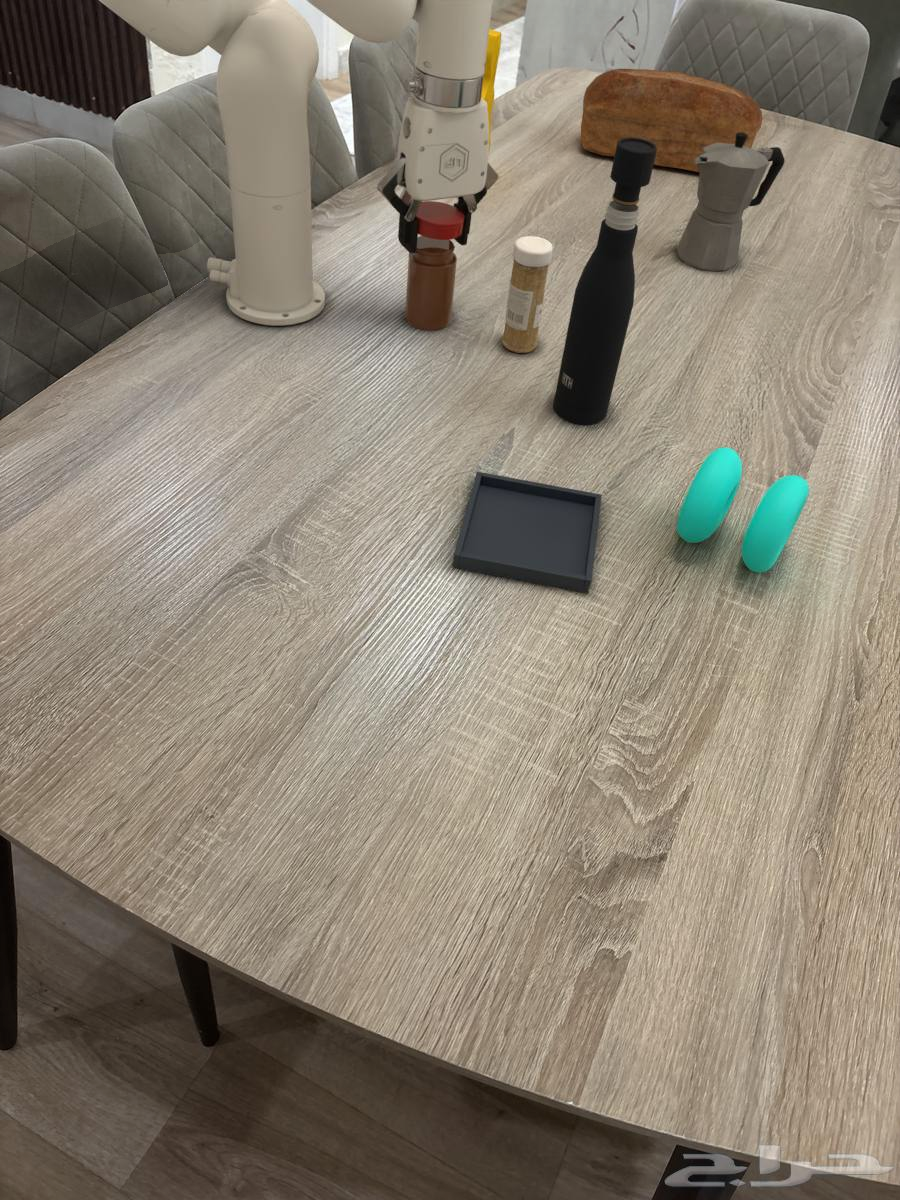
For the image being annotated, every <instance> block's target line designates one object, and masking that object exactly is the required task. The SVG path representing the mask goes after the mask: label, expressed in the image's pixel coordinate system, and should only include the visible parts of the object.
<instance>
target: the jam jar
mask: <svg viewBox="0 0 900 1200" xmlns="http://www.w3.org/2000/svg"><path fill="white" fill-rule="evenodd" d="M455 248H456V245H455V244H454V242H453V240H452V239H450V240H437V239H431V238H427V237H424V236H422V235H419V236H418V238H417V250H416V252H415V253H409V252H408V258H407V260H408V261H407V276H406V296H405V313H404V315H405V316H404V319H405V321H406V322H407V323H408V324H409V325H410V326H411V327H414V328H416V329H419V330H424V331H439V330H443V329H445V328H446V327H448V326H449V325H450V324H451V322H452V315H453V303H454V293H455V284H456V283H455V281H456V271H457V262H458V260H457V259H458V257H457V255H456V253H455V252H454V251H455Z"/></svg>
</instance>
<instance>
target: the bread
mask: <svg viewBox="0 0 900 1200" xmlns="http://www.w3.org/2000/svg"><path fill="white" fill-rule="evenodd" d="M762 124H763V113H762V109H761V108H760V106H759V104H758V101H756V100H755V99H753V98H752V97H751V96H750V95H749V94H747V93H745V92H742V91H741V90H739V89H738V88H735V87H733V86H731V85H728V84H725V83H721V82H719V81H715V80H712V79H709V78H705V77H701V76H697V75H693V74H690V73H685V72H681V71H674V70H662V69H646V68H641V69H640V68H615V69H610V70H608V71H605V72H603V73H601V74H599V75H597V76H596V77H595V78H594V79H592V81H591V82H590V83H589V84H588V86H587V87H586V89H585V91H584V94H583V102H582V116H581V122H580V144H581V146H582V148H583V150H585V151H588V152H590V153H593V154H596V155H600V156H603V157H612V158H614V156H615V151H616V146H617V142H618V141H619V140H620V139H623V138H639V139H644V140H647V141H649V142H652V143H653V144H654V145H655V146H656V147H657V152H656V156H655V161H654V165H653V166H659V167H660V166H661V167H666V168H675V169H681V170H686V171H691V172H696V173H700V172H699V169H698V166H697V165H696V164H695V159H696V158H697V157H698V156H700V155H702V152H703V148H704V147H707V146H709V145H712V144H715V143H728V144H735V140H736V133H738V132H743V133H746V134H747V135H748V137H747V139H746V141H745V143H744V146H746V147H749V148H751V149H753V145H754V142H755V139H756V137H757V134H758V133H759V132H760V130H761V128H762Z"/></svg>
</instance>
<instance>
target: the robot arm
mask: <svg viewBox="0 0 900 1200" xmlns="http://www.w3.org/2000/svg"><path fill="white" fill-rule="evenodd" d="M98 1H99V2H100V3H101V4H103V5H104V6H106V8H108V9H109V10H111V11H112V12H113V13H114V14H116V15H117V16H118V17H120V18H121V19H122V20H123V21H125V22H126V23H127V24H128V25H129V26H131V27H133V28H134V29H135V30H136V31H138V32H139V34H141V35H142V36H144V37H145V38H146V39H148V40H149V41H150V42H152V43H153V44H154V45H155V46H157V47H158V48H159V49H161V50H163V51H165V52H166V53H168V54H171V55H173V56H177V57H190V56H194V55H197V54H199V53H200V52H202V51H203V50H204V49H205V48H207V47H209V48H211V49H212V50H213V51H215V52H216V53H218V55H220V59H219V62H218V66H217V72H216V97H217V98H216V99H217V103H218V104H217V105H218V109H219V114H220V115H219V116H220V120H221V125H222V131H223V137H224V143H225V152H226V162H227V165H226V166H227V173H228V182H229V184H228V185H229V196H230V207H231V220H232V231H233V243H234V257H235V259H234V258H233V259H232V260H231V261H229V260H224V258H223V259H222V258H218V257H217V258H216V257H211V256H209V258H208V259H207V262H206V271H207V272H208V274H209V281H210V282H214V283H223V284H226V285H227V286H228V287H227V290H226V292H225V293H226V294H225V295H226V296H225V297H226V304H227V306H228V308H229V310H230V311H231V312H232V313H233V314H234V315H236V316H237V317H239V318H240V319H243V320H245V321H248V322H251V323H253V324H258V325H263V326H272V327H273V326H274V327H278V326H280V327H281V326H283V327H284V326H291V325H292V326H293V325H297V324H303V323H305V322H308V321H309V320H311V319H314V318H315V317H317V316H318V315H319V314H320V313H321V312H322V311H323V310H324V308H325V305H326V292H325V290H324V288H323V287H322V286H321V284H319V283H318V282H317V281H315V280H314V271H313V270H314V268H313V266H314V265H313V225H312V222H313V221H312V220H313V219H312V181H311V151H310V138H309V127H308V97H309V92H310V90H311V87H312V84H313V82H314V80H315V76H316V74H317V71H318V68H319V67H318V66H319V61H320V52H319V45H318V41H317V38H316V35H315V33H314V30H313V29H312V27H311V25H310V23H309V22H308V21H307V20H306V18H305V17H304V16H303V15H302V14H301V13H300V12H299V11H298V10H297V9H296V8H295V7H294V6H293V5H291V3H290V2H288V1H287V0H98ZM306 2H308V3H309V4H310V5H311V6H312V7H314V8H316V9H317V10H318V11H320V13H322V14H323V15H325V16H326V17H328V18H329V19H330V20H331V21H333V22H334V23H336V25H338V26H340V27H341V28H342V29H344V30H345V31H347V32H348V33H350V34H352V35H353V36H355V37H357V38H359V39H361V40H362V41H365V42H369V43H374V44H375V43H376V44H385V43H388V42H392V41H394V40H395V39H398V38H399V37H400V36H401V35H402V34H404V33H405V32H406V30H407V29H408V28H409V26H410V24H411V22H412V20H414V21H415V22H416V24H417V36H416V49H415V51H416V52H415V63H414V64H415V65H414V67H413V72H412V74H413V75H411V76H410V77H406V78H404V80H403V89H404V91H405V92H406V93H412V95H410V96H408V99H407V102H406V105H405V108H404V113H403V117H402V121H401V127H400V132H399V137H398V145H397V153H396V162H395V163H396V164H394V165H393V166H392V168H391V169H390V170H389V171H388V172H387V174H386V175H385V176H384V177H383V178H382V179H381V180H380V181H379V182H378V184H377V185H376V189H377V191H378V192H379V193H380V194H381V195H382V197H384V199H386V201H387V202H388V203H389V204H390V205H391V206H392V207H393V209H395V211H396V212H397V213H398V214H399V216H398V217H399V218H398V232H397V238H398V239H397V240H398V241H399V244H400V245H401V246H402V247H403V248H404V249H405V250H406V251H407V252H408V254H409V253H415V252H416V250H417V238H418V237H419V236H418V235H419V234H418V226H419V223H418V221H417V220H416V219H415V216H416V214H417V212H418V209H419V207H420V205H421V203H422V202H424V201H438V200H439V201H440V200H446V199H452V198H453V199H455V198H456V200H457V202H456V203H455V202H454V203H453V206H454V207H456V208H458V209H459V210H461V211H462V212H463V214H464V223H463V229H462V234H461V235H460V236H459V237H457V238H455V239H454V240H455V242H457V243H458V244H459V245H461V246H466V245H467V244H468V239H469V238H468V237H469V234H470V232H471V222H472V215H473V213H475V212H476V211H477V210H478V204H479V203H480V202H481V201H482V200H483V199H484V198H485V197H486V196H487V194H488V190H490V189H491V188H492V187H493V186H494V184H495V183H496V182H497V180H498V179H499V174H498V173H497V171H496V170H495V169H494V168H493V167H492V165H490V163H489V153H488V149H489V122H488V108H487V102H486V101H485V100H483V99H482V98H481V96H482V88H483V79H484V71H485V62H486V54H487V45H488V36H489V29H491V28H490V27H491V19H492V12H493V11H492V9H493V3H494V0H306ZM489 150H490V149H489ZM398 186H400V187H401V188H403V189H402V191H401V193H400V195H398V194H397V193H396V188H397V187H398Z"/></svg>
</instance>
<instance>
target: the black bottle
mask: <svg viewBox="0 0 900 1200" xmlns="http://www.w3.org/2000/svg"><path fill="white" fill-rule="evenodd" d="M656 152H657V147H656V146H655V145H654V144H653V143H652V142H649V141H647V140H644V139H639V138H623V139H620V140H619V141H618V142H617V146H616V151H615V156H614V157H613V161H612V167H611V170H610V179H611V181H613V182H614V183H615V185H614V191H613V194H612V197H611V198H612V200H610V201H609V202H608V205H607V206H606V210H605V211H606V213H605V214H604V219H603V220H601V222H600V223H601V224H600V228H599V232H598V238H597V243H596V246H595V248H594V250H593V251H592V253H591V255H590V257H589V259H588V260H587V262H586V264H585V266H584V267H583V270H582V272H581V274H580V276H579V278H578V281H577V284H576V287H575V289H574V295H573V300H572V305H571V310H570V315H569V319H568V320H569V321H568V326H567V331H566V335H565V341H564V347H563V352H562V356H561V362H560V367H559V372H558V378H557V383H556V388H555V395H554V399H553V403H552V408H553V410H554V412H555V414H557V415H558V417H559V418H561V419H563V420H565V421H566V422H569V423H571V424H575V425H582V426H583V425H585V426H586V425H587V426H588V425H595V424H598V423H600V422H602V421H604V419H605V418H606V416H607V414H608V410H609V406H610V402H611V398H612V394H613V390H614V386H615V381H616V378H617V373H618V370H619V369H618V368H619V365H620V361H621V356H622V353H623V348H624V344H625V340H626V336H627V332H628V327H629V324H630V319H631V315H632V311H633V308H634V303H635V302H634V301H635V284H636V274H635V263H634V254H633V252H634V248H635V244H636V239H637V235H638V230H639V227H638V225H637V223H638V220H639V218H638V217H639V216H640V211H639V209H640V207H639V205H638V204H639V202H640V193H641V189H642V188H644V187H646V186H648V185H649V184H650V181H651V177H652V174H653V173H652V172H653V168H654V166H655V165H654V161H655V156H656Z"/></svg>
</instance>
